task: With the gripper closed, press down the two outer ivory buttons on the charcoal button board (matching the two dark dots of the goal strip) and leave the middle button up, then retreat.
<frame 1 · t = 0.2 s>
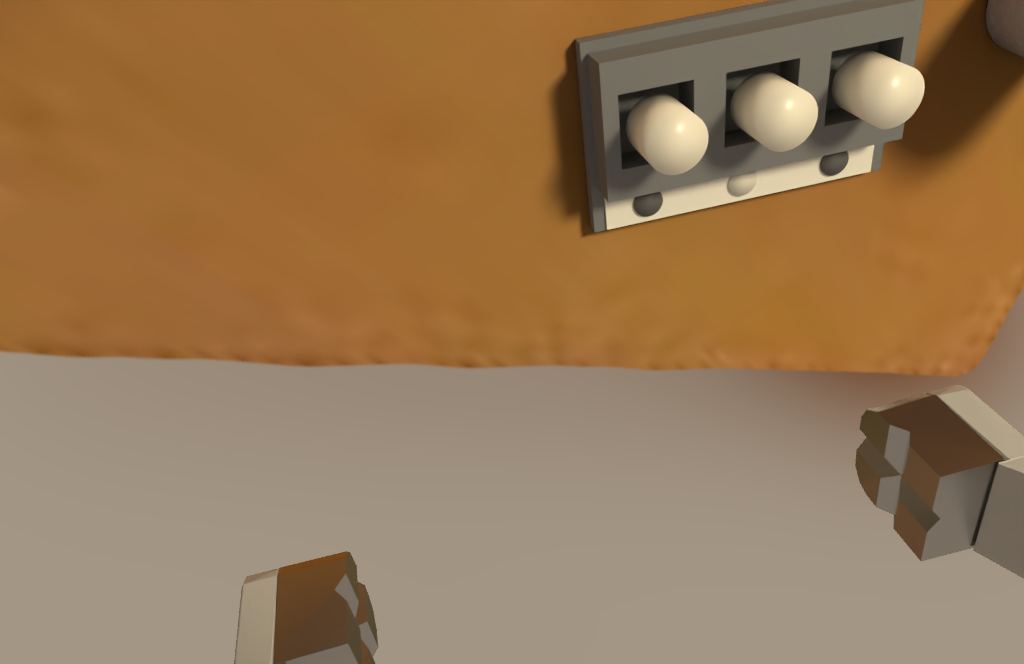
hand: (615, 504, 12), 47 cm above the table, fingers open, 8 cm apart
button 2: (772, 111, 55), point 6 cm above the table, slide at 0.0 cm
button 1: (665, 133, 54), point 6 cm above the table, slide at 0.0 cm
board: (737, 88, 60), on the table
button 3: (876, 89, 56), point 6 cm above the table, slide at 0.0 cm
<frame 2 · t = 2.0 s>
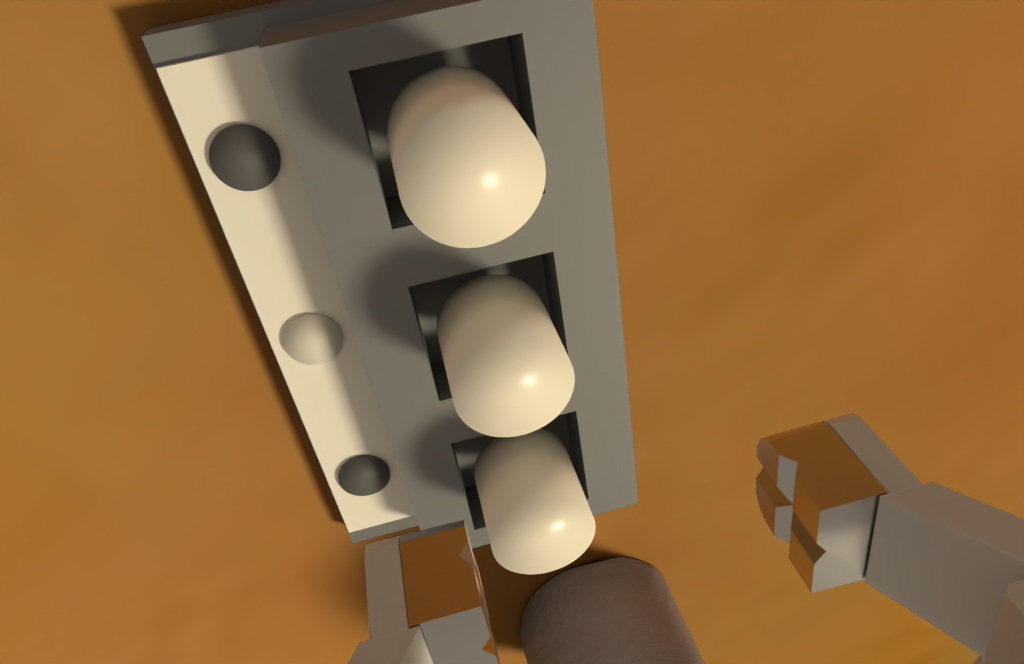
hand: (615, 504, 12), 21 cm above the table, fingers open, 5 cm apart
button 2: (502, 354, 29), point 6 cm above the table, slide at 0.0 cm
button 1: (461, 154, 25), point 6 cm above the table, slide at 0.0 cm
pillar candle: (594, 604, 48), on the table
board: (476, 280, 34), on the table
button 3: (531, 499, 34), point 6 cm above the table, slide at 0.0 cm
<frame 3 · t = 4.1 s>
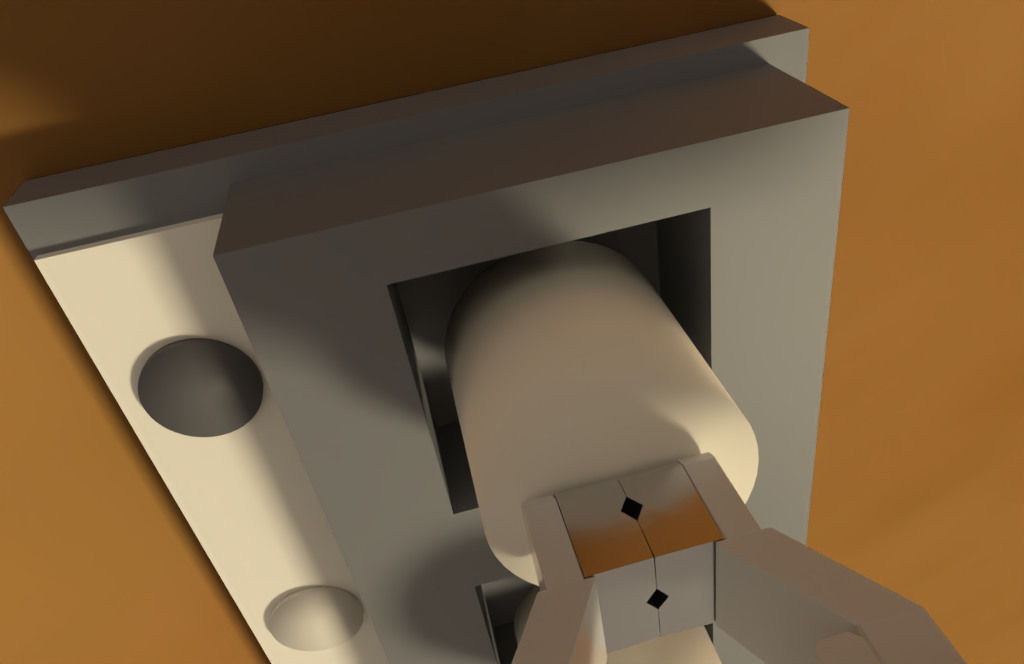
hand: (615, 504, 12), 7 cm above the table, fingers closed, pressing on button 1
button 1: (584, 408, 14), point 5 cm above the table, slide at 0.7 cm, touching gripper
board: (563, 508, 22), on the table
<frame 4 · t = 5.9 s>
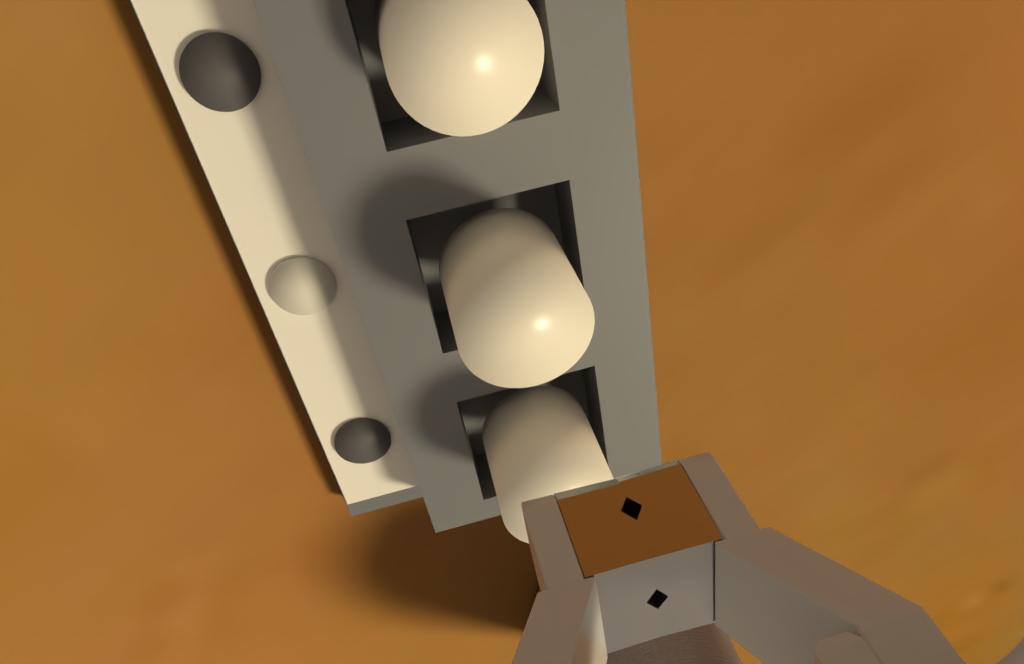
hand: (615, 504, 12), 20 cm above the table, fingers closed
button 2: (512, 295, 26), point 6 cm above the table, slide at 0.0 cm
button 1: (454, 38, 23), point 4 cm above the table, slide at 1.9 cm
pillar candle: (613, 585, 45), on the table
board: (483, 222, 31), on the table
button 3: (546, 464, 31), point 6 cm above the table, slide at 0.0 cm
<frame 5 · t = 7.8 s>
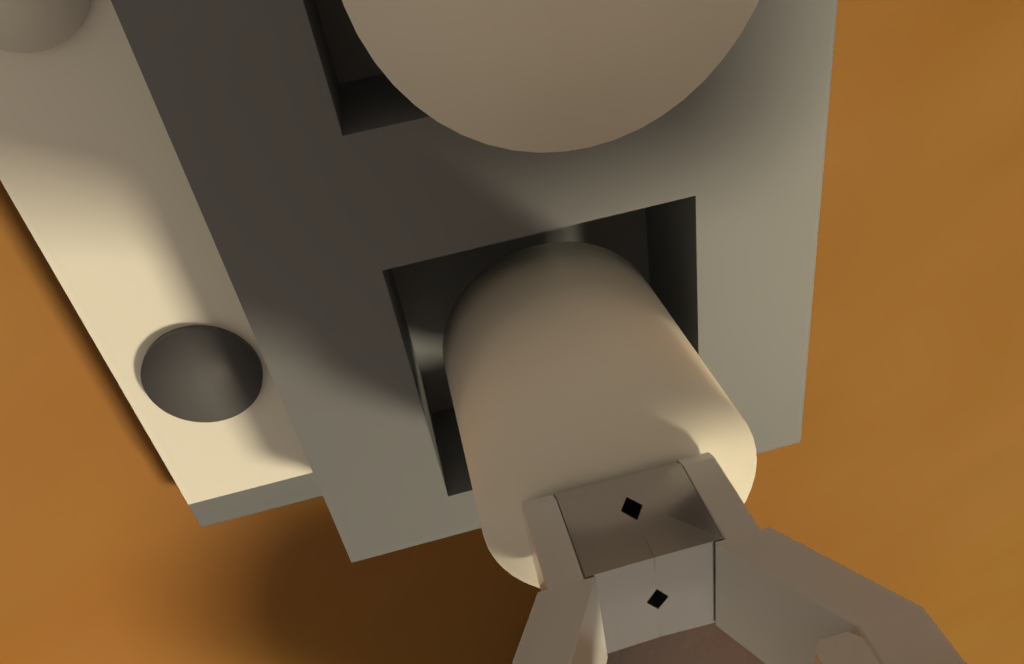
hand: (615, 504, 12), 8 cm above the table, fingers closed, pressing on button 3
pillar candle: (664, 637, 28), on the table
button 3: (582, 409, 14), point 6 cm above the table, slide at 0.2 cm, touching gripper
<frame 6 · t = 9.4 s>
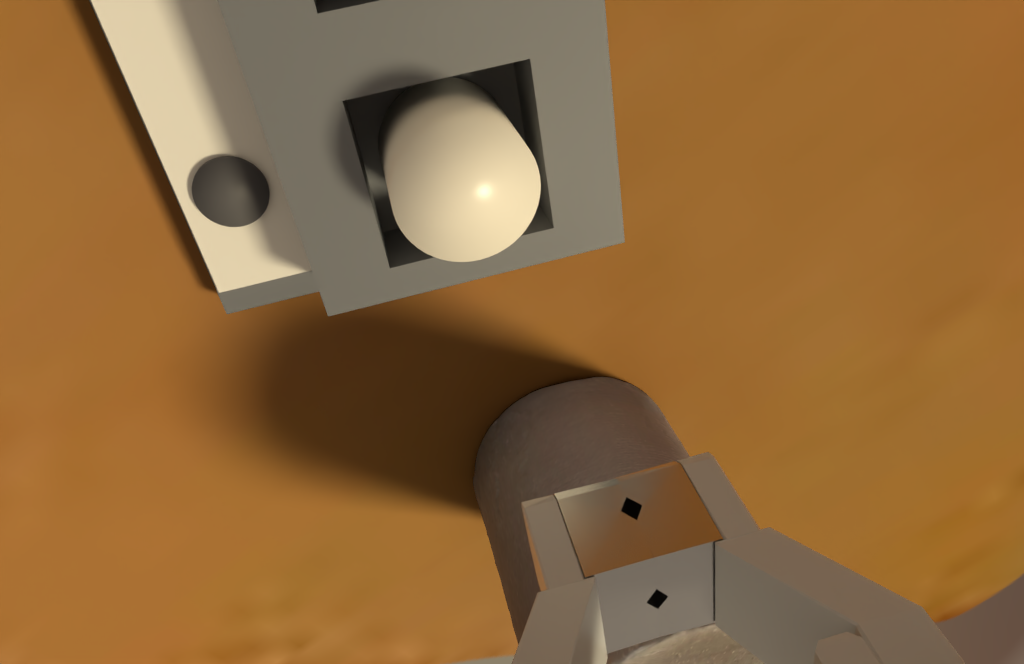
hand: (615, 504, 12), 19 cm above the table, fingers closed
pillar candle: (571, 451, 37), on the table
button 3: (455, 167, 24), point 4 cm above the table, slide at 1.9 cm
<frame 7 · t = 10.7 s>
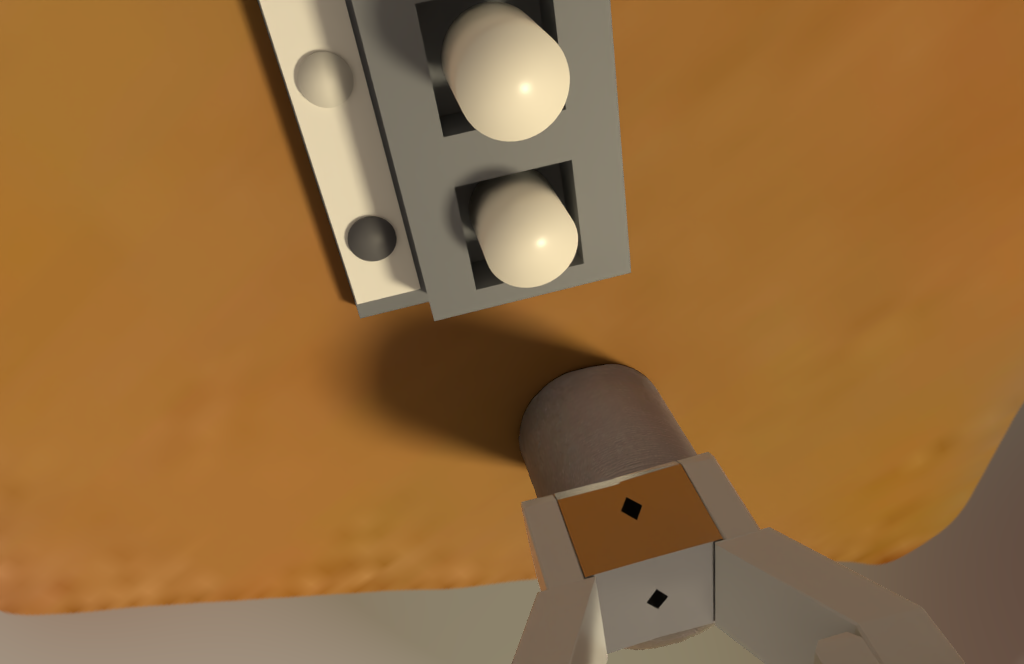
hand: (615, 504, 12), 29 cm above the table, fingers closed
button 2: (502, 70, 31), point 6 cm above the table, slide at 0.0 cm
pillar candle: (590, 418, 51), on the table
board: (478, 37, 36), on the table
button 3: (521, 225, 37), point 4 cm above the table, slide at 1.9 cm
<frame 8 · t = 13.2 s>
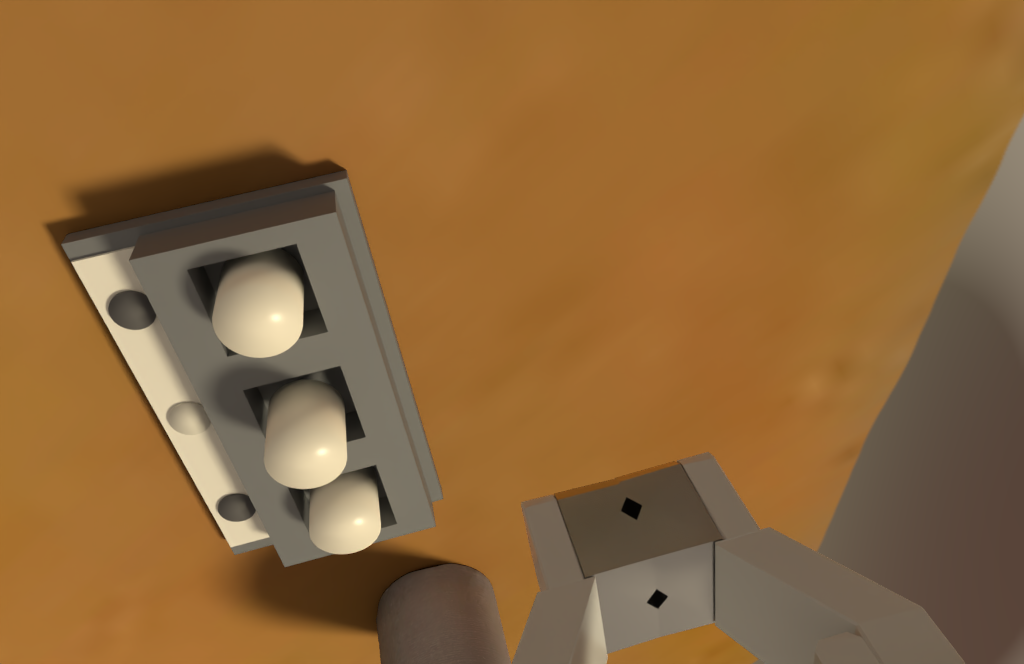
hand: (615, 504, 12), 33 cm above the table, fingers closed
button 2: (306, 433, 44), point 6 cm above the table, slide at 0.0 cm
button 1: (260, 300, 41), point 4 cm above the table, slide at 1.9 cm
pillar candle: (436, 599, 64), on the table
board: (307, 374, 49), on the table
button 3: (344, 504, 50), point 4 cm above the table, slide at 1.9 cm
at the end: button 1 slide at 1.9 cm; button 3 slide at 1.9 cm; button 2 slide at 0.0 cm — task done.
